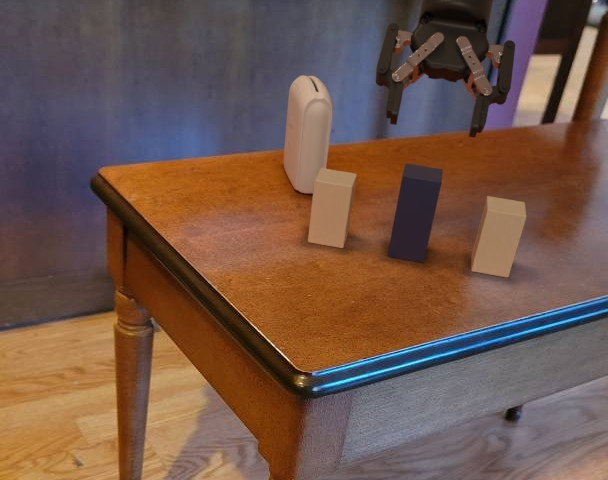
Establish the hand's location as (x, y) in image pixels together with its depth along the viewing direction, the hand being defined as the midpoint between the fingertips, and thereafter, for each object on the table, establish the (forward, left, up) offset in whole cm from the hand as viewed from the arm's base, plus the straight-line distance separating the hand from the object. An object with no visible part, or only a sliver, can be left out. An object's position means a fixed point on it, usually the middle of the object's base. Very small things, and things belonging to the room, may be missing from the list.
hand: (433, 127), depth 79 cm
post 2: (-9, +5, -12) cm, 16 cm away
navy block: (0, +5, -12) cm, 13 cm away
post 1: (+9, +5, -12) cm, 16 cm away
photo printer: (+15, -11, -12) cm, 22 cm away
